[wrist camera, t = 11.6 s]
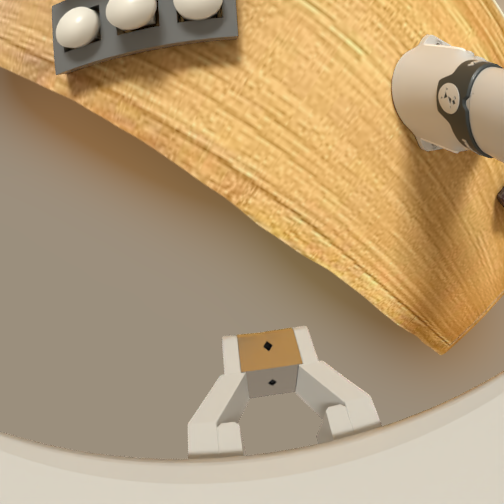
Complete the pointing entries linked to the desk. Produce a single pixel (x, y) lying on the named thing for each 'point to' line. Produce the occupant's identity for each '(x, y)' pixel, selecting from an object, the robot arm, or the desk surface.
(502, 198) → the rock
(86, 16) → the button
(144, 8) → the button middle
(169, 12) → the button board
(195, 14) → the button
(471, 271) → the desk surface
